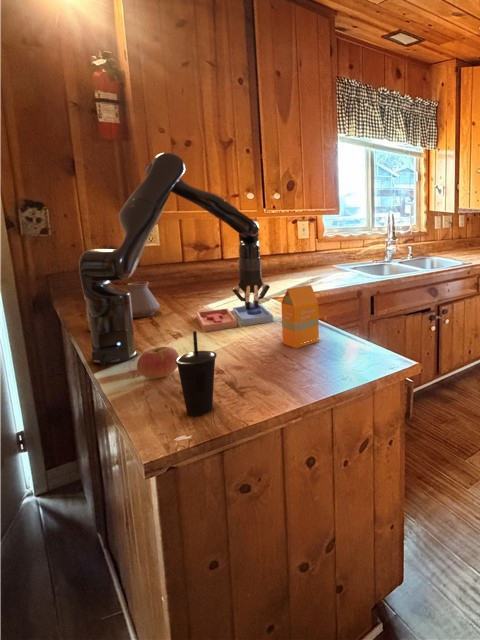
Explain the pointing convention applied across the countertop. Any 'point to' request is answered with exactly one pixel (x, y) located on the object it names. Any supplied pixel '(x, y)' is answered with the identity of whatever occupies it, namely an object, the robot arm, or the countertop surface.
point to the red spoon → (214, 317)
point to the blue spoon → (253, 310)
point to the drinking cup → (197, 379)
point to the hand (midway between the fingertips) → (252, 309)
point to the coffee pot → (142, 299)
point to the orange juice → (300, 317)
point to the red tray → (209, 325)
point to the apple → (157, 362)
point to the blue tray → (252, 316)
